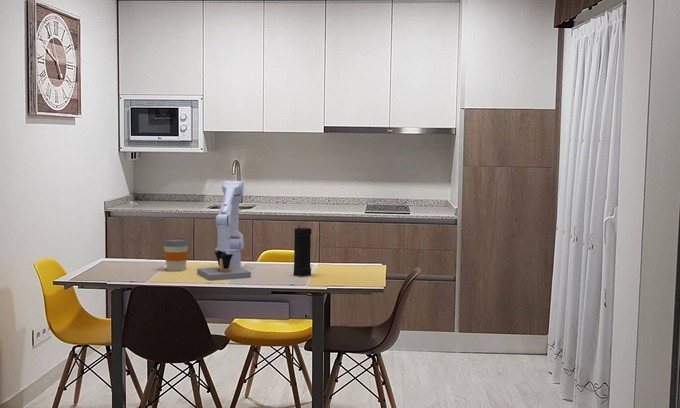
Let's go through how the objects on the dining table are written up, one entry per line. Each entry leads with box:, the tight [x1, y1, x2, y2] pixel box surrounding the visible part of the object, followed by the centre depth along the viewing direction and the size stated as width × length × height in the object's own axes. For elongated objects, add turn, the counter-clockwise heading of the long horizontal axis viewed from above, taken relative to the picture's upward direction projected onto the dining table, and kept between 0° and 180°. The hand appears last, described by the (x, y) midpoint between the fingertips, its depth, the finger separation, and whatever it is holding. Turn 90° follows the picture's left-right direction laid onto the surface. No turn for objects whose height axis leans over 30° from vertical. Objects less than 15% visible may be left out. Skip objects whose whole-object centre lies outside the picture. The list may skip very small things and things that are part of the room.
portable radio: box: [293, 226, 312, 277], centre depth 382 cm, size 8×6×25 cm
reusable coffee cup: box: [162, 237, 190, 272], centre depth 396 cm, size 13×13×15 cm
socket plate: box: [196, 266, 252, 282], centre depth 380 cm, size 20×20×2 cm
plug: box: [219, 258, 230, 272], centre depth 380 cm, size 4×4×8 cm
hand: (223, 267), depth 380 cm, fingers open, 7 cm apart
